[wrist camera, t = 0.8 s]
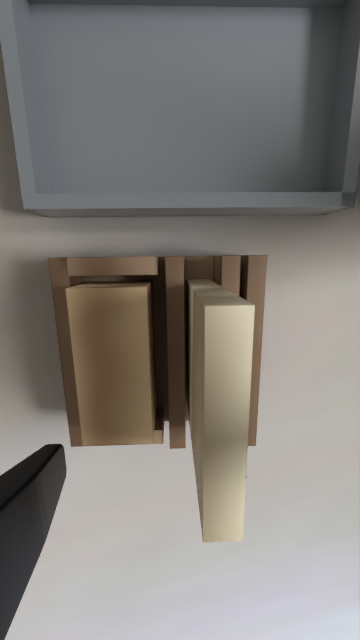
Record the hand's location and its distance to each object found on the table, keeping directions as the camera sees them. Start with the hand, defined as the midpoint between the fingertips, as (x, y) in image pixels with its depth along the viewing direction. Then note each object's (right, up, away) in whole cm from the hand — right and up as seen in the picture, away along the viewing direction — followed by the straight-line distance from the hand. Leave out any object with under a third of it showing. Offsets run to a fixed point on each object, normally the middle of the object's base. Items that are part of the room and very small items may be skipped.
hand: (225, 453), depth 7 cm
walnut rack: (-3, +2, +13) cm, 13 cm away
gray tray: (-1, +16, +9) cm, 19 cm away
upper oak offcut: (-5, +1, +9) cm, 10 cm away
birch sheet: (0, +2, +11) cm, 12 cm away
